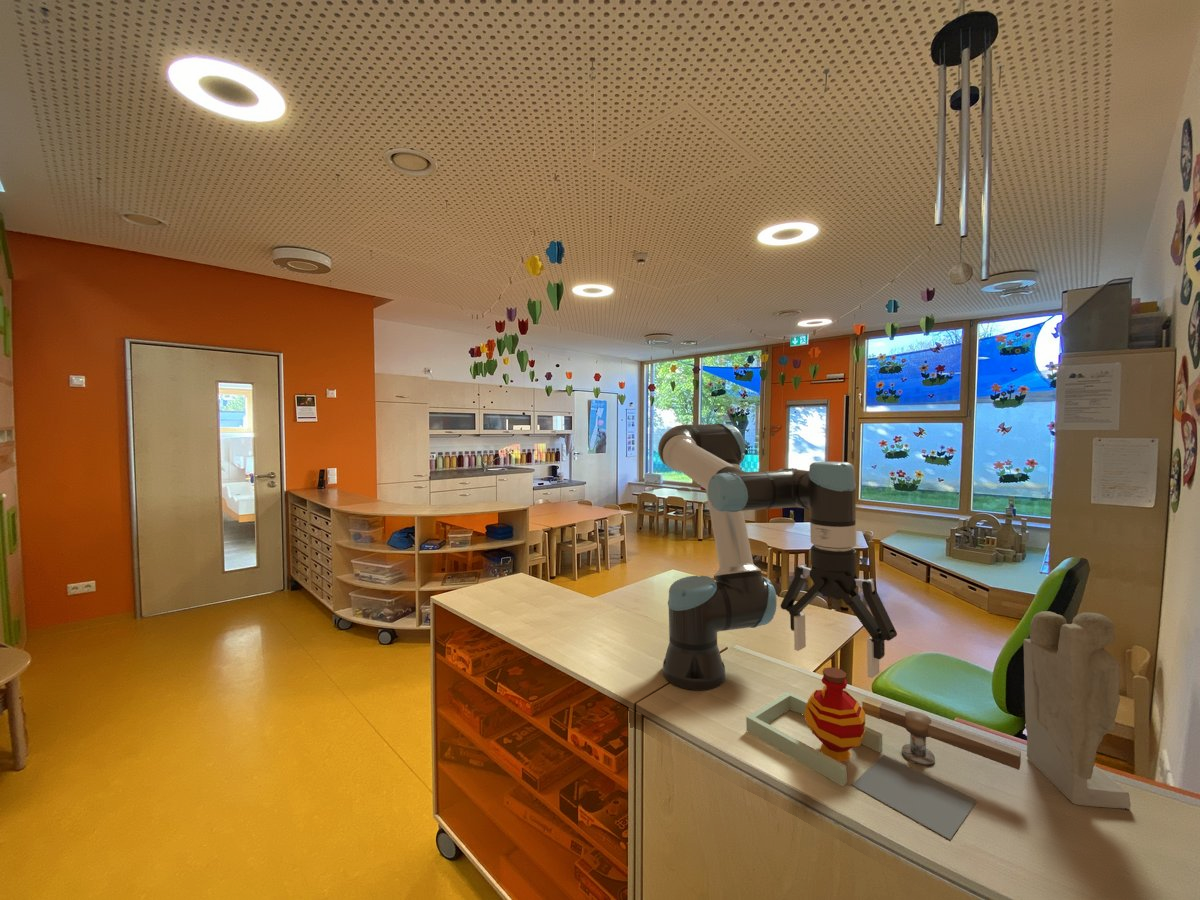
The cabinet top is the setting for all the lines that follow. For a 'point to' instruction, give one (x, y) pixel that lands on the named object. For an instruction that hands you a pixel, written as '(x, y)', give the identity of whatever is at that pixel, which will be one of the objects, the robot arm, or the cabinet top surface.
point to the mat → (916, 795)
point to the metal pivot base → (918, 751)
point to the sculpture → (1072, 704)
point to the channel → (796, 748)
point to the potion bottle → (835, 716)
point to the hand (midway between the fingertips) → (834, 661)
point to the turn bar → (943, 732)
